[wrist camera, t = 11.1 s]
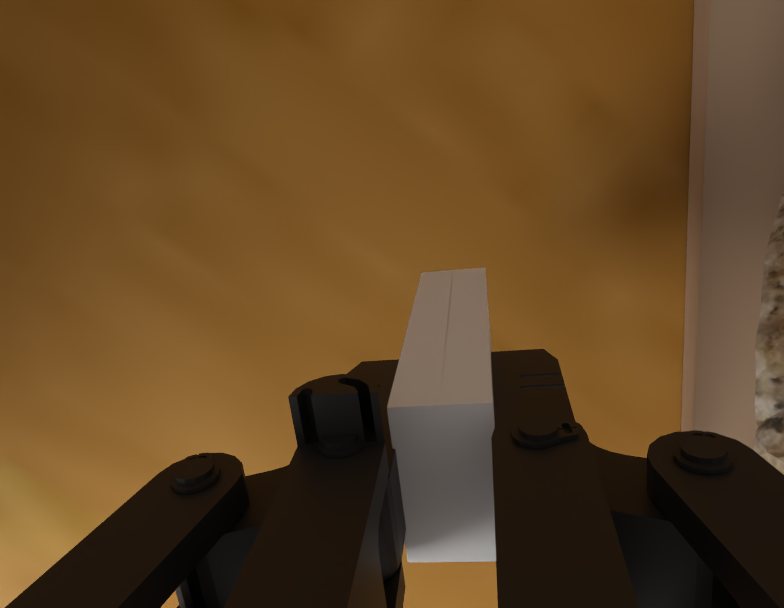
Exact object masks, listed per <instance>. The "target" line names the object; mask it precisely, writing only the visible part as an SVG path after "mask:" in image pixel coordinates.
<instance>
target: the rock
mask: <svg viewBox="0 0 784 608" xmlns="http://www.w3.org/2000/svg"><path fill="white" fill-rule="evenodd" d="M755 364H756V388H755V417H756V434H755V441H754V447H753V450H754V451H755V452H756V453H758V454H759V455H760V456H761V457H763V458H764V459H765V460H766V461H767V462H769V463H770V464H771V465H772V466H774V467H775V468H776V469H777V470H778V471H780V472H781V473H782V474H783V475H784V193H783V195H782V196H780V199H779V207H778V211H777V215H776V218H775V221H774V224H773V227H772V231H771V235H770V239H769V243H768V247H767V251H766V255H765V260H764V269H763V283H762V294H761V304H760V315H759V323H758V329H757V335H756V342H755Z"/></svg>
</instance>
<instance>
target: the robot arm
mask: <svg viewBox="0 0 784 608" xmlns="http://www.w3.org/2000/svg"><path fill="white" fill-rule="evenodd" d="M289 403H290V408H291V413H292V418H293V424H294V429H295V434H296V440H297V445H298V447H297V449H296V451H295V453H294V456H293V458H292V460H291V462H290V464H289V465H288V466H285V467H282V468H278V469H275V470H272V471H267V472H263V473H258V474H254V475H250V476H245V474H244V470H243V465H242V463H241V462H240V461H239V460H238V459H237V458H236V457H235V456H232V455H229V454H225V453H201V454H199V455H197V454H196V455H192V456H189V457H187V458H185V459H183V460H181V461H179V462H176V463H174V464H172V465H170V466H169V467H167V468H166V469H165V470H163V471H162V472H160V473H159V474H157V475H156V476H155V477H154V478H153V479H152V480H151V481H149V482H148V483H147V484H146V485H145V486H144V487H143V488H141V489H140V490H139V491H138V492H137V493H136V494H135V495H133V496H132V497H131V498H130V499H129V500H128V501H127V502H125V503H124V504H123V505H122V506H121V507H120V508H119V509H117V510H116V511H115V512H114V513H113V514H112V515H111V516H109V517H108V518H107V519H106V520H105V521H104V522H102V523H101V524H100V525H99V526H98V527H97V528H96V529H94V530H93V531H92V532H91V533H90V534H89V535H88V536H86V537H85V538H84V539H83V540H82V541H81V542H80V543H78V544H77V545H76V546H75V547H74V548H73V549H72V550H70V551H69V552H68V553H67V554H66V555H65V556H64V557H62V558H61V559H60V560H59V561H58V562H57V563H56V564H54V565H53V566H52V567H51V568H50V569H49V570H47V571H46V572H45V573H44V574H43V575H42V576H41V577H39V578H38V579H37V580H36V581H35V582H34V583H33V584H31V585H30V586H29V587H28V588H27V589H26V590H25V591H23V592H22V593H21V594H20V595H19V596H18V597H17V598H15V599H14V600H13V601H12V602H11V603H10V604H9V605H7V606H6V607H5V608H161V606H162V605H163V604H164V603H165V601H166V600H167V599H168V598H169V597H170V596H171V595H172V593H173V592H174V591H176V595H177V598H178V602H179V606H178V607H177V608H403V601H404V593H405V581H404V574H403V567H402V553H403V546H404V539H405V545H406V553H407V560H408V562H480V561H496V567H497V592H498V608H784V475H783V474H782V473H781V472H780V471H778V470H777V469H776V468H775V467H774V466H772V465H771V464H770V463H769V462H767V461H766V460H765V459H764V458H763V457H761V456H760V455H759V454H758V453H756V452H755V451H754V450H753V449H751V448H750V447H748V446H746V445H745V444H743V443H741V442H739V441H738V440H736V439H733V438H729V437H726V436H723V435H720V434H717V433H714V432H708V431H706V432H703V431H697V430H692V431H683V432H674V433H671V434H667V435H664V436H661V437H659V438H658V439H656V440H655V441H654V442H653V443H651V444H650V445H649V449H648V453H647V458H642V457H635V456H628V455H623V454H618V453H614V452H610V451H607V450H604V449H602V448H599V447H597V446H595V445H593V444H592V443H590V442H589V439H588V435H587V433H586V432H585V430H584V429H583V427H582V426H581V425H580V424H579V423H577V422H575V419H574V416H573V412H572V409H571V405H570V402H569V398H568V394H567V391H566V387H565V384H564V380H563V377H562V374H561V370H560V366H559V362H558V359H556V358H555V357H553V356H552V355H551V354H549V353H548V352H547V351H545V350H544V349H533V350H517V351H500V352H492V348H491V335H490V322H489V308H488V295H487V281H486V268H485V267H483V268H470V269H458V270H445V271H432V272H421V276H420V280H419V284H418V288H417V292H416V296H415V300H414V303H413V307H412V311H411V315H410V319H409V323H408V327H407V331H406V335H405V339H404V343H403V347H402V350H401V354H400V358H399V360H383V361H366V362H361V363H360V364H359V365H357V366H356V367H355V368H354V369H352V370H351V371H350V372H349V373H347V374H339V375H332V376H325V377H322V378H319V379H315V380H312V381H309V382H307V383H305V384H304V385H302V386H300V387H298V388H296V389H295V390H294V391H293V392H292V394H291V395H290V396H289Z"/></svg>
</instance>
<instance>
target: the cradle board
mask: <svg viewBox="0 0 784 608" xmlns="http://www.w3.org/2000/svg"><path fill="white" fill-rule="evenodd" d="M783 193H784V0H694V28H693V61H692V93H691V125H690V157H689V190H688V222H687V254H686V286H685V318H684V351H683V383H682V415H681V432H683V431H692V430H697V431H703V432H706V431H708V432H714V433H717V434H720V435H723V436H726V437H729V438H733V439H736V440H738V441H739V442H741V443H743V444H745V445H746V446H748V447H750V448H751V449H753V447H754V441H755V434H756V417H755V388H756V364H755V342H756V335H757V329H758V323H759V315H760V304H761V294H762V283H763V269H764V260H765V255H766V251H767V247H768V243H769V239H770V235H771V231H772V227H773V224H774V221H775V218H776V215H777V211H778V207H779V199H780V196H782V195H783Z"/></svg>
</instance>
